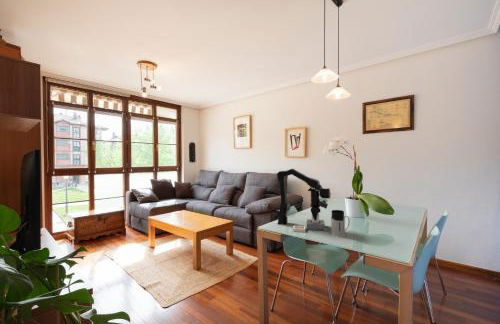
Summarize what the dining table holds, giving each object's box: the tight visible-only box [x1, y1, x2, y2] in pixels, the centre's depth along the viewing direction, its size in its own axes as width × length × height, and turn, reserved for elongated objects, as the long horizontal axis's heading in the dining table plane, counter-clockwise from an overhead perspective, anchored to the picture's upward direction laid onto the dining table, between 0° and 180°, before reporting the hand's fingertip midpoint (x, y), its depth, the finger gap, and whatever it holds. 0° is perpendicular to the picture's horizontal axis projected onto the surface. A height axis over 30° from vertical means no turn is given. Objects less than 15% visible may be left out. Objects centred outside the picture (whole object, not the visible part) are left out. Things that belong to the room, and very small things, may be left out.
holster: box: [292, 225, 306, 233], centre depth 161 cm, size 8×7×2 cm
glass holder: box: [330, 209, 351, 238], centre depth 148 cm, size 9×14×15 cm, turn 20°
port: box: [306, 218, 326, 231], centre depth 166 cm, size 12×12×5 cm
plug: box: [311, 212, 320, 223], centre depth 166 cm, size 5×4×9 cm
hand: (315, 219), depth 166 cm, fingers closed on plug, 3 cm apart
